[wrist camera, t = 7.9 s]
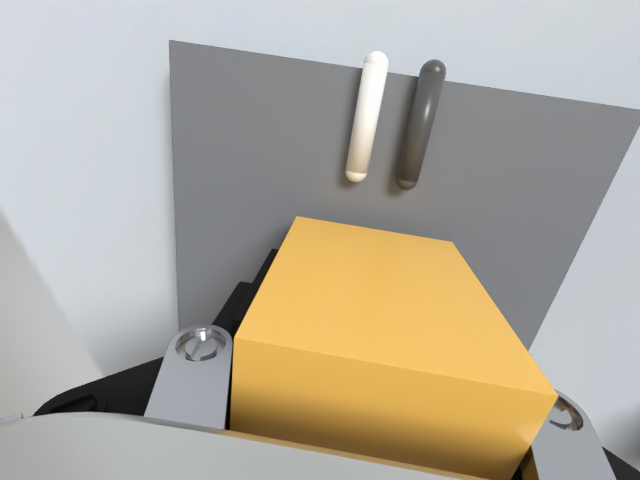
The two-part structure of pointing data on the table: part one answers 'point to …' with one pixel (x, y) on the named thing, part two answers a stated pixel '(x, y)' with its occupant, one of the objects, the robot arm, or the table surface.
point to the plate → (381, 170)
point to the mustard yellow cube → (385, 355)
